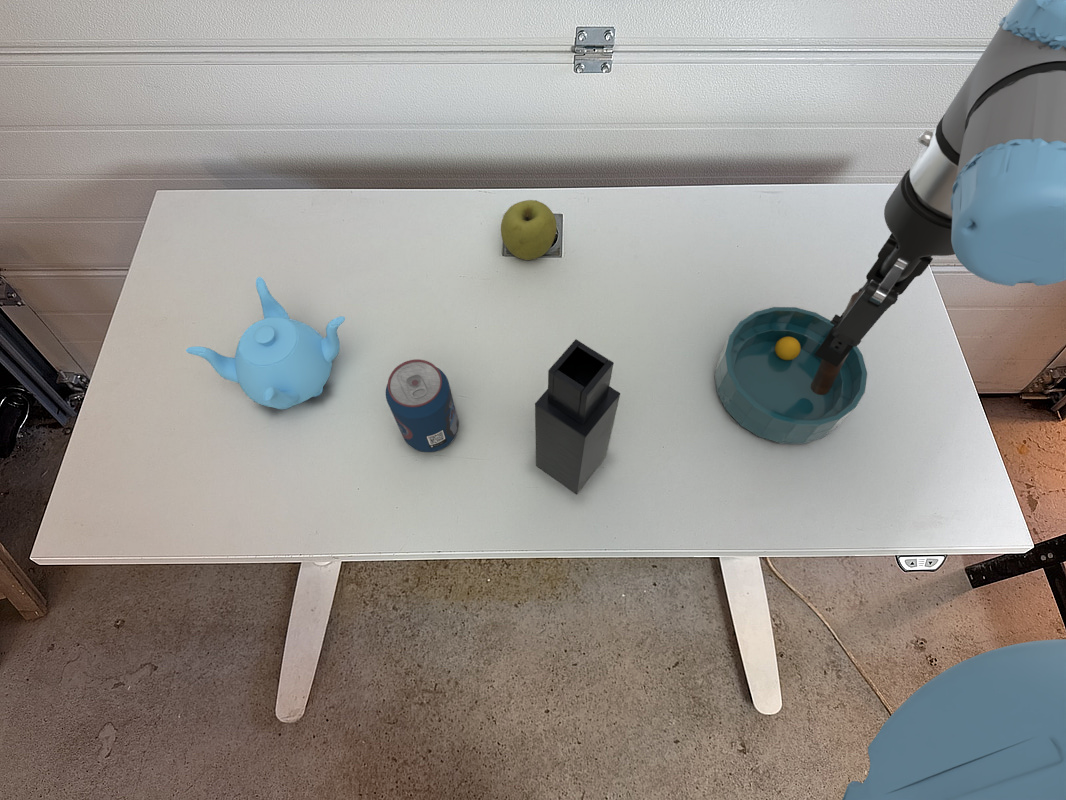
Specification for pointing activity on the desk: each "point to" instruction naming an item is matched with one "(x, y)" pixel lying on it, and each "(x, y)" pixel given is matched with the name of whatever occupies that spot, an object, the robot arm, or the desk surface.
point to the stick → (829, 366)
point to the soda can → (422, 405)
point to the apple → (528, 229)
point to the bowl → (785, 377)
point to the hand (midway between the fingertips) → (832, 349)
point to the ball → (787, 348)
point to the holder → (575, 416)
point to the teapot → (278, 356)
